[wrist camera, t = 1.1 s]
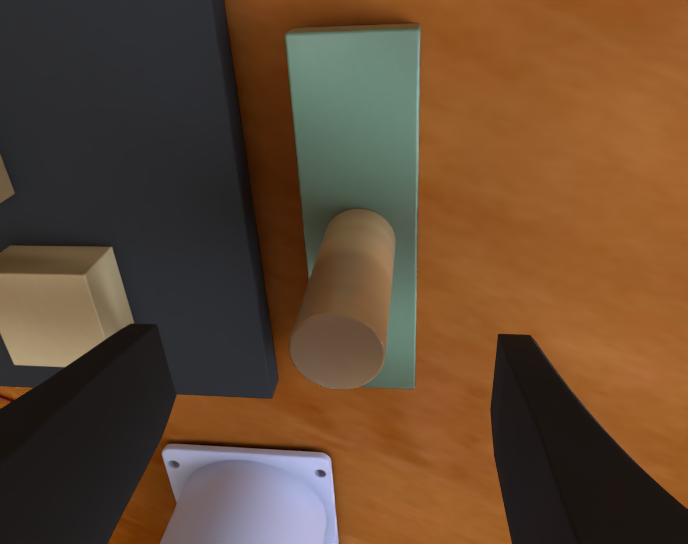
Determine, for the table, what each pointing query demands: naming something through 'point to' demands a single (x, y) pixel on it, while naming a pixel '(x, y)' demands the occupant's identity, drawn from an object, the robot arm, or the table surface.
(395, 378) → the brush
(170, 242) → the mat
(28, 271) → the offcut
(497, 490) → the table surface
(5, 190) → the offcut
